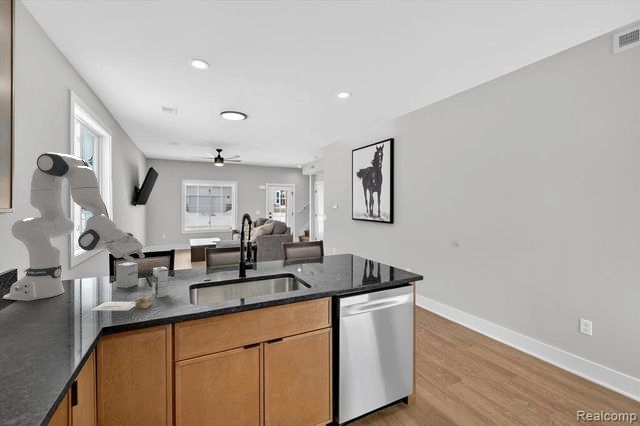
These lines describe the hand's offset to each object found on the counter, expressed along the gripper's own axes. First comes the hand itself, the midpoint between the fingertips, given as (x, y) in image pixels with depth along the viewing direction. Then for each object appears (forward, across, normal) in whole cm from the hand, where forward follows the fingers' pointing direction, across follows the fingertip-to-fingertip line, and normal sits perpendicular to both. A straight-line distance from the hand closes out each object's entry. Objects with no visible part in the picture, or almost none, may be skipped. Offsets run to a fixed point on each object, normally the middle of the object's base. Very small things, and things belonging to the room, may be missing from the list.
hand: (138, 259), depth 145 cm
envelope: (+12, -15, +14) cm, 24 cm away
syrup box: (+21, 0, +6) cm, 22 cm away
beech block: (+21, -16, +6) cm, 27 cm away
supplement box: (+2, +17, +24) cm, 30 cm away
